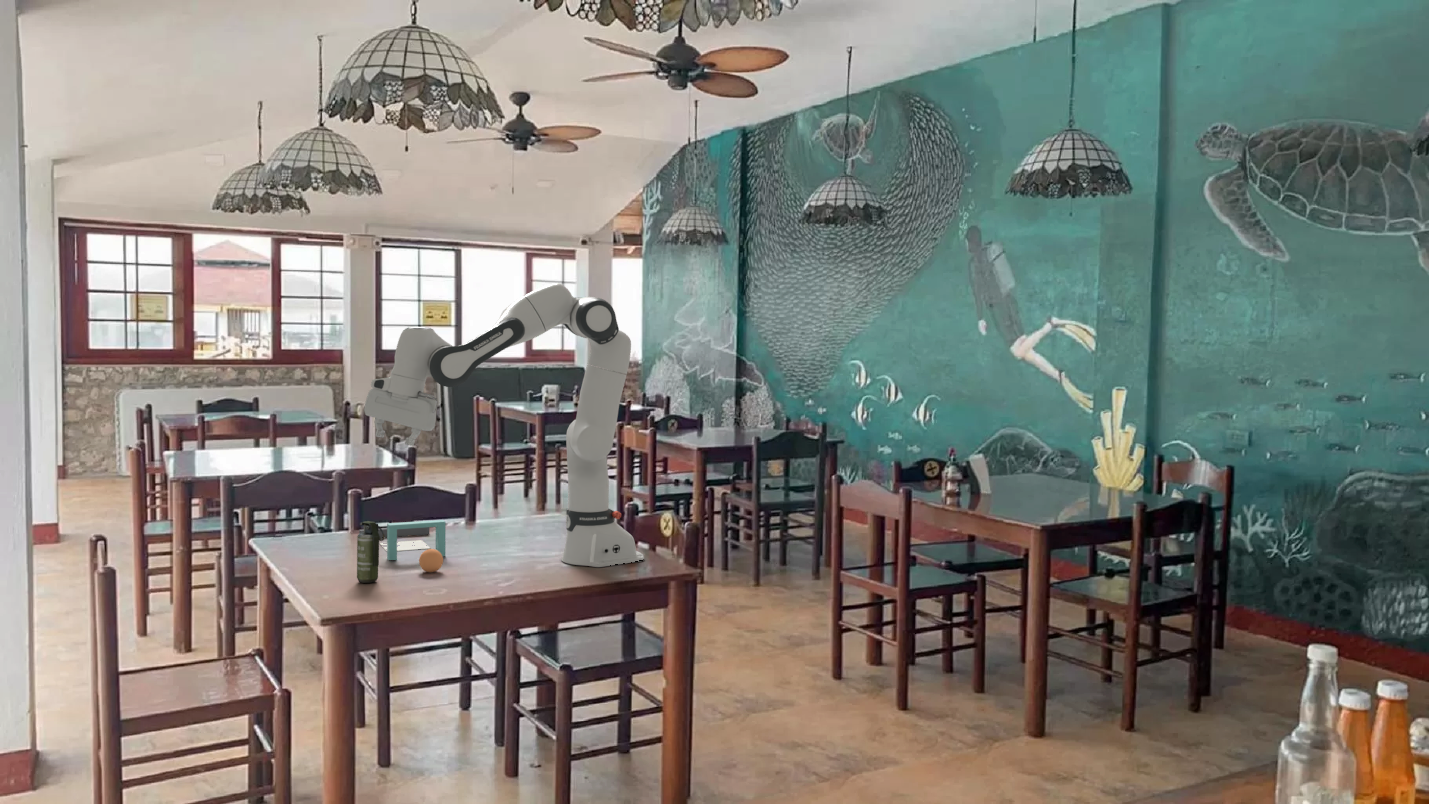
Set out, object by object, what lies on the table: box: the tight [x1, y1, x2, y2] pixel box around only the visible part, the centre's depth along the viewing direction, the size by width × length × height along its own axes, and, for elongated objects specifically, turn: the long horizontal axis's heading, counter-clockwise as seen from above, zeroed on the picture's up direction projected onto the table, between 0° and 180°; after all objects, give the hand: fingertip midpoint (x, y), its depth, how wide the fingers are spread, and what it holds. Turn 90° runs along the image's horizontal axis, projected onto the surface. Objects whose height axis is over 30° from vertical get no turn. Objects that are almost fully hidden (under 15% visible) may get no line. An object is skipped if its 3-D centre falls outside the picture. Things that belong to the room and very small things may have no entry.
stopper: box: [358, 527, 430, 539], centre depth 325 cm, size 20×2×2 cm, turn 117°
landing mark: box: [379, 539, 432, 552], centre depth 312 cm, size 12×12×1 cm
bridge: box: [386, 519, 447, 561], centre depth 297 cm, size 3×15×10 cm, turn 117°
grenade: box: [356, 520, 385, 584], centre depth 269 cm, size 6×6×15 cm
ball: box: [418, 548, 444, 573], centre depth 281 cm, size 6×6×6 cm
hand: (394, 441), depth 278 cm, fingers open, 8 cm apart
